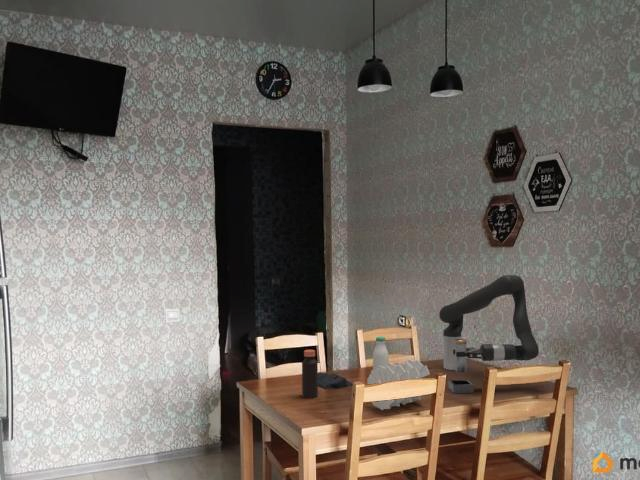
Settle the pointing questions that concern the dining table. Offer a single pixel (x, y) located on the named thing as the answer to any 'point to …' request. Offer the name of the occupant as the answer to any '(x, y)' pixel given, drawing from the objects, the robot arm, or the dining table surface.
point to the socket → (461, 386)
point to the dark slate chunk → (332, 381)
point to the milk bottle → (380, 353)
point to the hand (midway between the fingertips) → (454, 353)
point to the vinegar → (309, 375)
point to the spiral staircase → (397, 373)
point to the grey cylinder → (460, 361)
